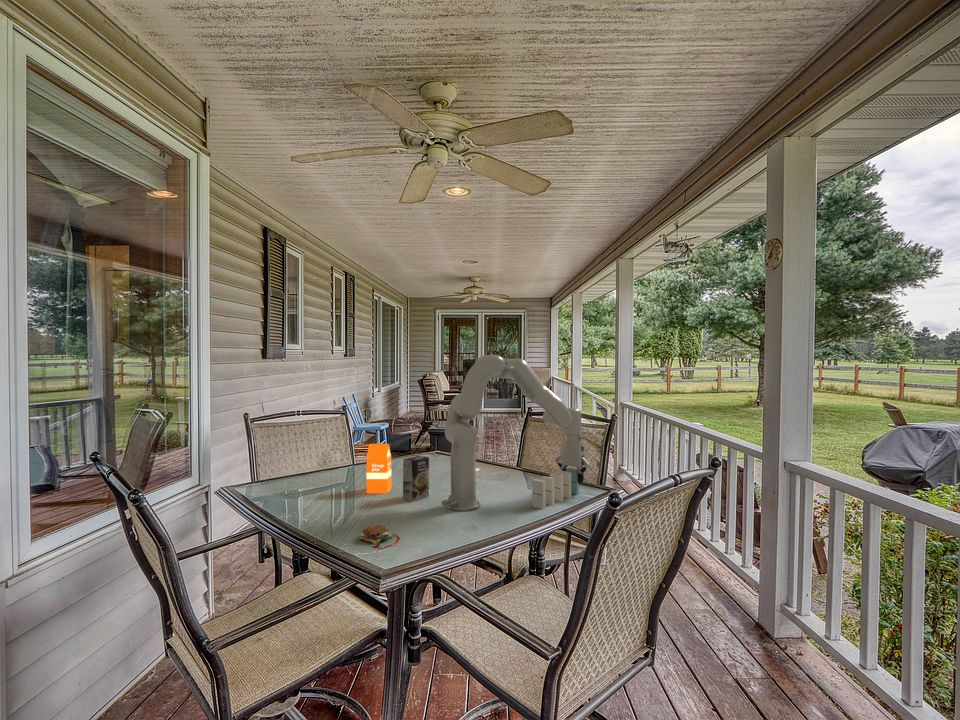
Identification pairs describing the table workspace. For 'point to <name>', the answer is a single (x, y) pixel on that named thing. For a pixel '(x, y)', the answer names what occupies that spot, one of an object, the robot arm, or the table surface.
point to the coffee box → (415, 478)
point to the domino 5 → (574, 481)
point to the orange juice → (378, 468)
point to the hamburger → (377, 535)
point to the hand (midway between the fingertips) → (572, 480)
